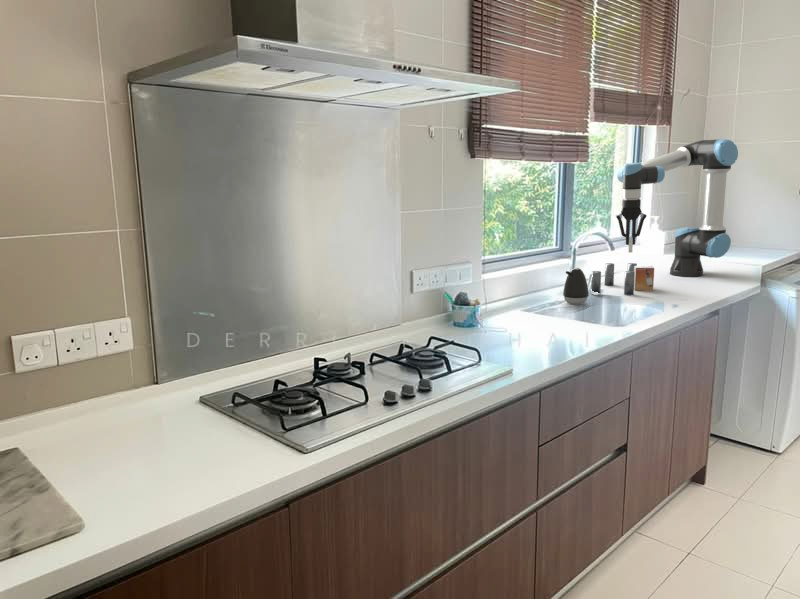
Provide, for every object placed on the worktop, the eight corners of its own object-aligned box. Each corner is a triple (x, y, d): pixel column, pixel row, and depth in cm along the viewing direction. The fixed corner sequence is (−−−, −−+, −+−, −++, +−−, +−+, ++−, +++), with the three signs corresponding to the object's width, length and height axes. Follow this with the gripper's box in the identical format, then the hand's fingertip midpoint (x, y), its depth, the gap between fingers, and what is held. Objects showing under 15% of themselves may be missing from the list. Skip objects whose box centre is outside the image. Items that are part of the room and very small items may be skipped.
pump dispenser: (557, 303, 269) (558, 267, 266) (577, 299, 273) (577, 264, 270) (573, 307, 260) (574, 271, 257) (593, 304, 264) (594, 268, 261)
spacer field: (635, 284, 300) (636, 263, 298) (644, 295, 277) (645, 272, 275) (586, 284, 304) (587, 263, 302) (591, 295, 281) (592, 272, 279)
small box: (634, 290, 286) (635, 267, 284) (632, 288, 292) (633, 265, 289) (653, 291, 284) (654, 267, 282) (651, 288, 290) (652, 265, 287)
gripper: (645, 197, 283) (644, 250, 288) (614, 198, 285) (613, 251, 291) (648, 199, 276) (646, 253, 281) (617, 200, 278) (615, 253, 283)
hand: (630, 251), depth 286 cm, fingers closed
